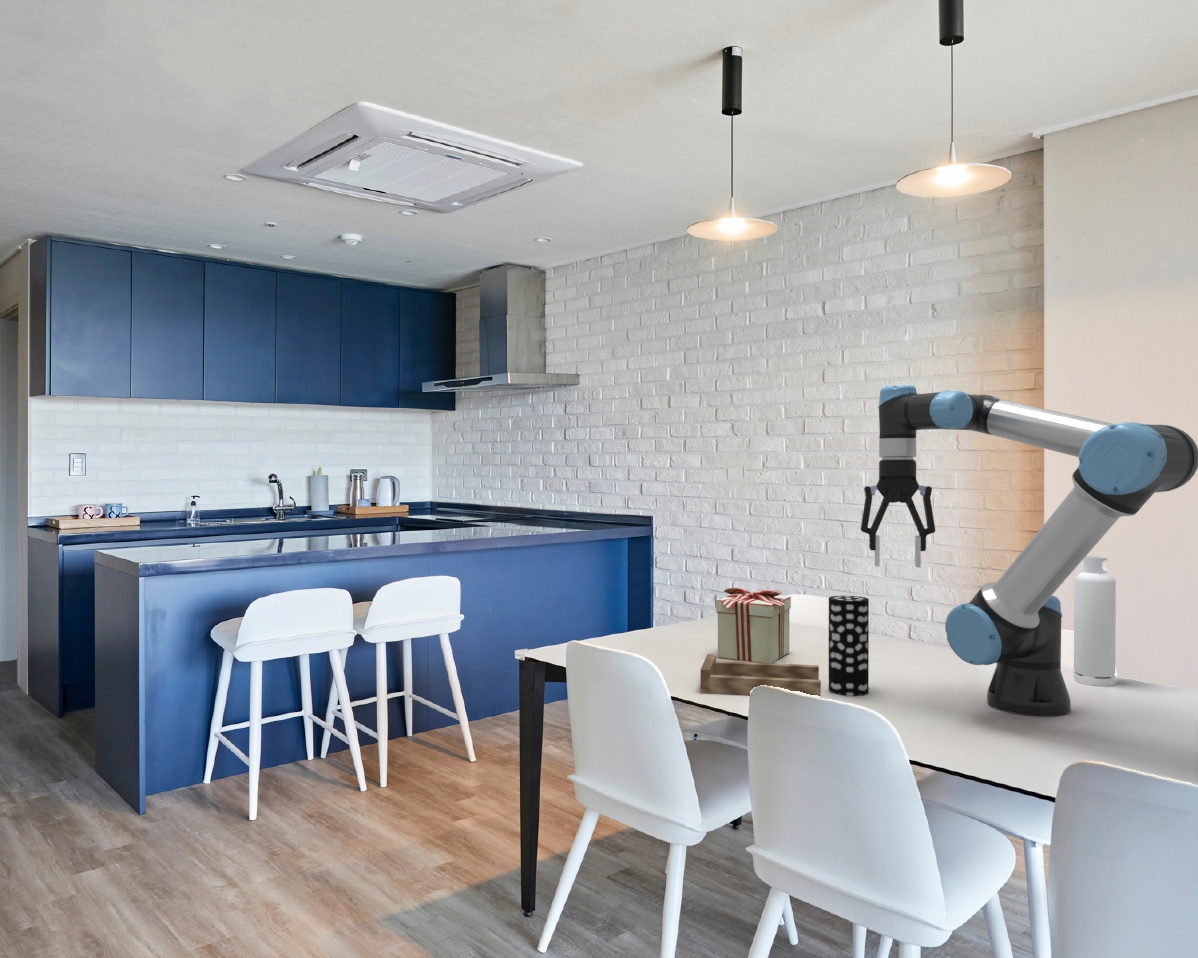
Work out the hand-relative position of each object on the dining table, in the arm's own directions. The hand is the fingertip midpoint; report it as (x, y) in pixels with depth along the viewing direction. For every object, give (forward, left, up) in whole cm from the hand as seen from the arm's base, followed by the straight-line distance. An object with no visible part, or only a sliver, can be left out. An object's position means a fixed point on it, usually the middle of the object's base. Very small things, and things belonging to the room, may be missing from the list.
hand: (897, 566), depth 189 cm
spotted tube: (+8, +6, -27) cm, 29 cm away
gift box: (+44, -4, -27) cm, 52 cm away
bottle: (-21, -44, -27) cm, 56 cm away
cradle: (+22, +18, -27) cm, 39 cm away
